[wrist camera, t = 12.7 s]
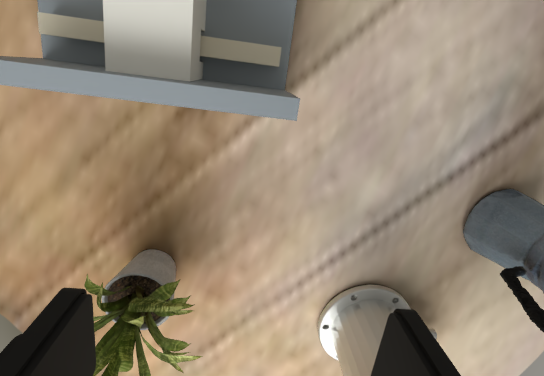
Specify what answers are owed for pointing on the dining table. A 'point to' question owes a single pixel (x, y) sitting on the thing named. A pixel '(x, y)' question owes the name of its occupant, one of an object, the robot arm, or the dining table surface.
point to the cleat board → (195, 94)
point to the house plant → (138, 313)
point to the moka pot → (511, 242)
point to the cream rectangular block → (154, 37)
